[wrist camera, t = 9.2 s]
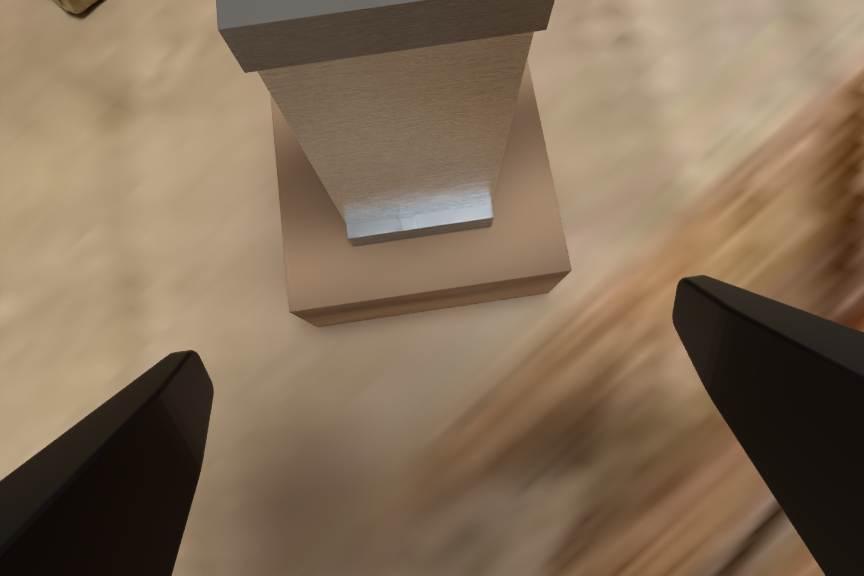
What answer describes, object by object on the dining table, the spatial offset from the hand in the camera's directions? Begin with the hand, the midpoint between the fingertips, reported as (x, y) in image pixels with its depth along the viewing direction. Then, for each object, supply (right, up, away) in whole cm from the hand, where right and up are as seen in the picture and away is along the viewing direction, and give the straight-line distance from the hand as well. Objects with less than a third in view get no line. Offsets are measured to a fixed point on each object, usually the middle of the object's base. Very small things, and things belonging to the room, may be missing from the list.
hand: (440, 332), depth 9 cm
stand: (-1, +5, +13) cm, 14 cm away
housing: (-1, +6, +9) cm, 11 cm away
